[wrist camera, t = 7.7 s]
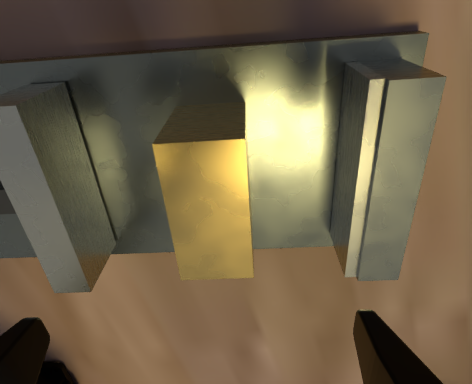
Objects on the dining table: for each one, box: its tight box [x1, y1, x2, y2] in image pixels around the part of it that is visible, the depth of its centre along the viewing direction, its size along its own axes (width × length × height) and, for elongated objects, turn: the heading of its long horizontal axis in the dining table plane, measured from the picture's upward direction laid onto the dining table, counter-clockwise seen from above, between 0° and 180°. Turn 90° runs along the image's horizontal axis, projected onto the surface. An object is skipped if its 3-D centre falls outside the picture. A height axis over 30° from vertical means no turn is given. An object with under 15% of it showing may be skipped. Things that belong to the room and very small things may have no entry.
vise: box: [0, 31, 446, 281], centre depth 17 cm, size 27×12×5 cm, turn 94°
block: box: [152, 102, 254, 280], centre depth 16 cm, size 4×7×5 cm, turn 4°
